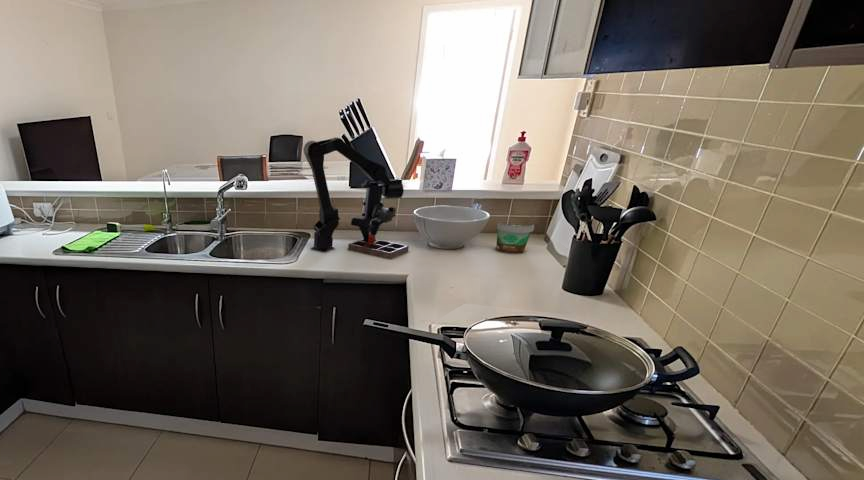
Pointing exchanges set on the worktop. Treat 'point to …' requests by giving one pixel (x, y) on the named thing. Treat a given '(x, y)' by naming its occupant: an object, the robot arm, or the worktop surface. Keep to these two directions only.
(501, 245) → the food container
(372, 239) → the red short cylinder
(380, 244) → the grid
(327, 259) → the worktop surface
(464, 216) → the decorative bowl
